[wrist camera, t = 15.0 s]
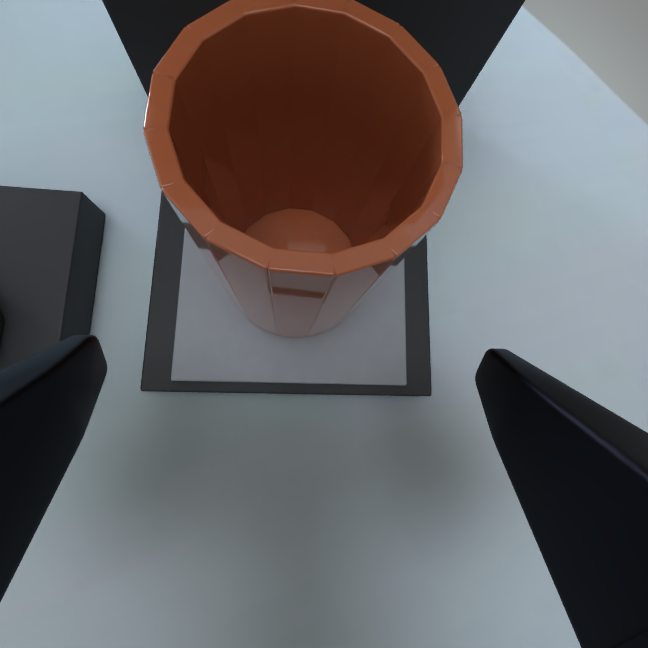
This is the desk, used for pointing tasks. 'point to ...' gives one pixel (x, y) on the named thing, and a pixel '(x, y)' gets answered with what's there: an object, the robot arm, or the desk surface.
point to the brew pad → (46, 268)
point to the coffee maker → (209, 295)
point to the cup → (302, 152)
